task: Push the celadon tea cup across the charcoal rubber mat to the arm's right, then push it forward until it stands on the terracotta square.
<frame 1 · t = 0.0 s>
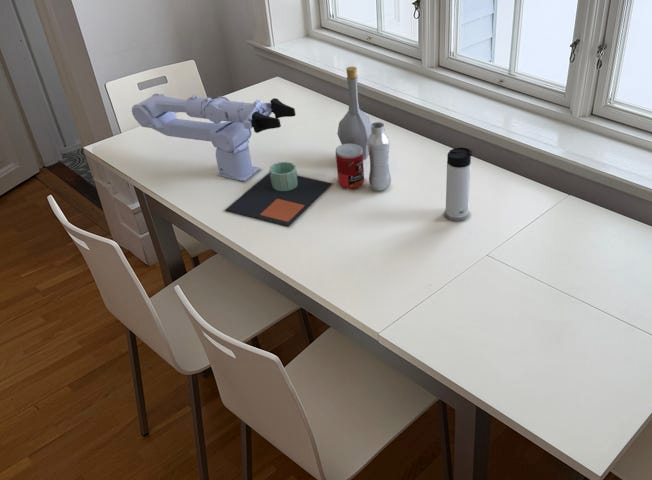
hand: (287, 117, 181), 22 cm above the table, tool horizontal, fingers open, 7 cm apart
travel mug: (457, 215, 185), on the table
cup: (285, 184, 195), resting on mat
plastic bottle: (380, 188, 196), on the table
bottle: (357, 162, 207), on the table
mat: (280, 197, 190), on the table
canned food: (351, 183, 197), on the table
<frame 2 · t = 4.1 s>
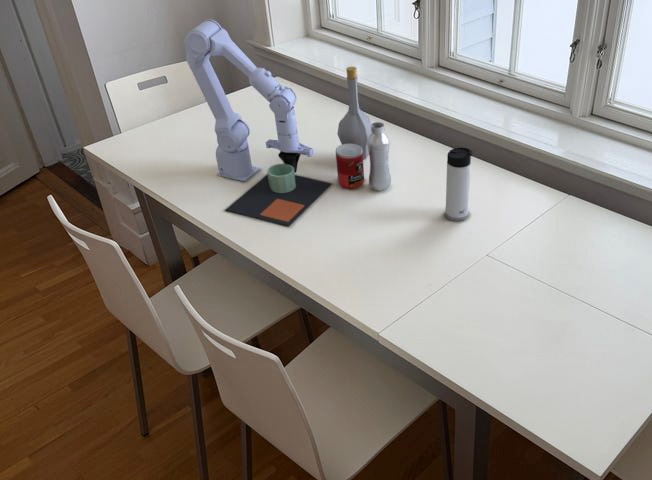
hand: (292, 173, 197), 2 cm above the table, tool pointing down, fingers closed, pressing on cup
cup: (283, 186, 194), resting on mat, touching gripper
everything else where it was.
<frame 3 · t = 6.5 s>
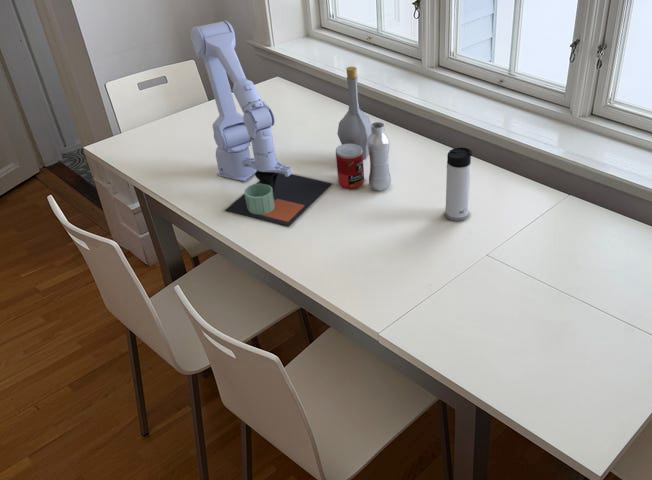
hand: (270, 192, 188), 2 cm above the table, tool pointing down, fingers closed, pressing on cup
cup: (261, 207, 185), resting on mat, touching gripper
everything else where it was.
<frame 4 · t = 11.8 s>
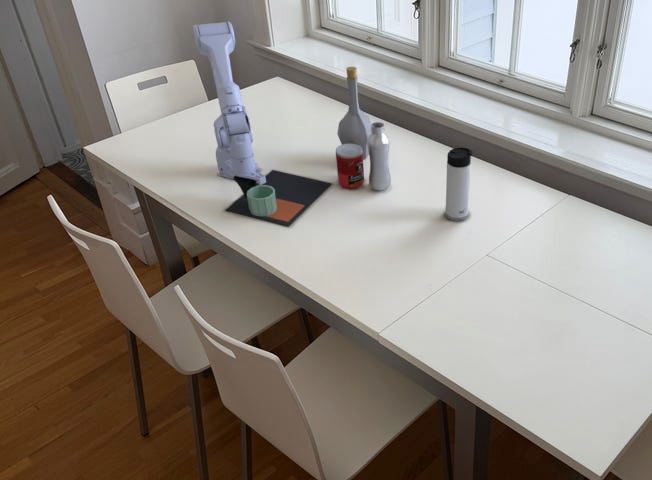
hand: (250, 197, 186), 2 cm above the table, tool pointing down, fingers closed
cup: (263, 209, 184), resting on mat, touching gripper
everything else where it was.
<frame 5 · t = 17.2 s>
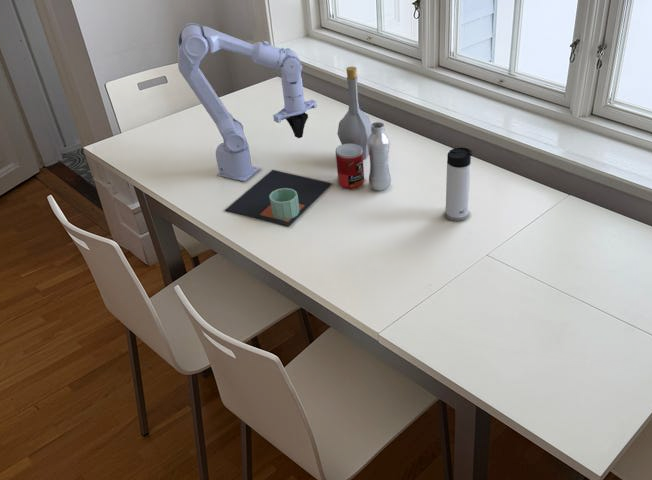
hand: (298, 136, 199), 9 cm above the table, tool pointing down, fingers closed
cup: (285, 212, 183), resting on mat
everything else where it was.
at the end: cup 1.7 cm from the target spot, resting on mat; cup tilted 0°; cup moved 15.0 cm from its start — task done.
